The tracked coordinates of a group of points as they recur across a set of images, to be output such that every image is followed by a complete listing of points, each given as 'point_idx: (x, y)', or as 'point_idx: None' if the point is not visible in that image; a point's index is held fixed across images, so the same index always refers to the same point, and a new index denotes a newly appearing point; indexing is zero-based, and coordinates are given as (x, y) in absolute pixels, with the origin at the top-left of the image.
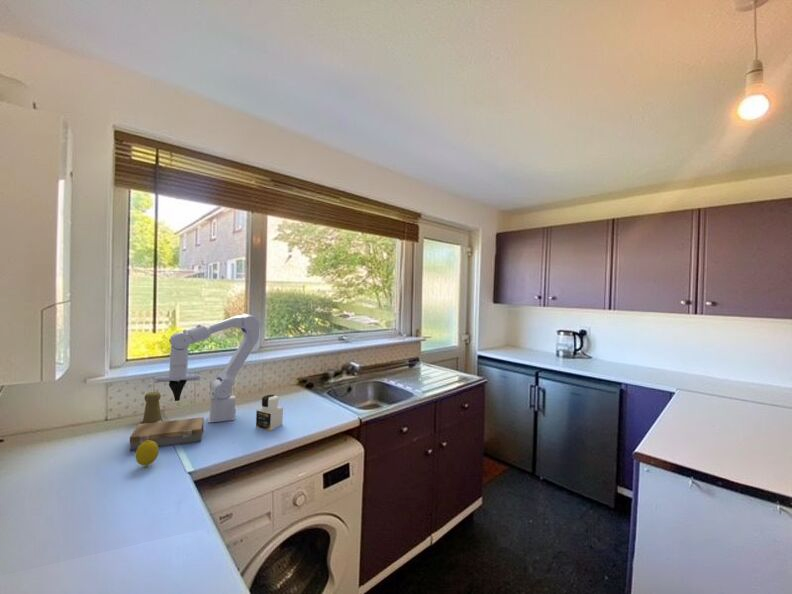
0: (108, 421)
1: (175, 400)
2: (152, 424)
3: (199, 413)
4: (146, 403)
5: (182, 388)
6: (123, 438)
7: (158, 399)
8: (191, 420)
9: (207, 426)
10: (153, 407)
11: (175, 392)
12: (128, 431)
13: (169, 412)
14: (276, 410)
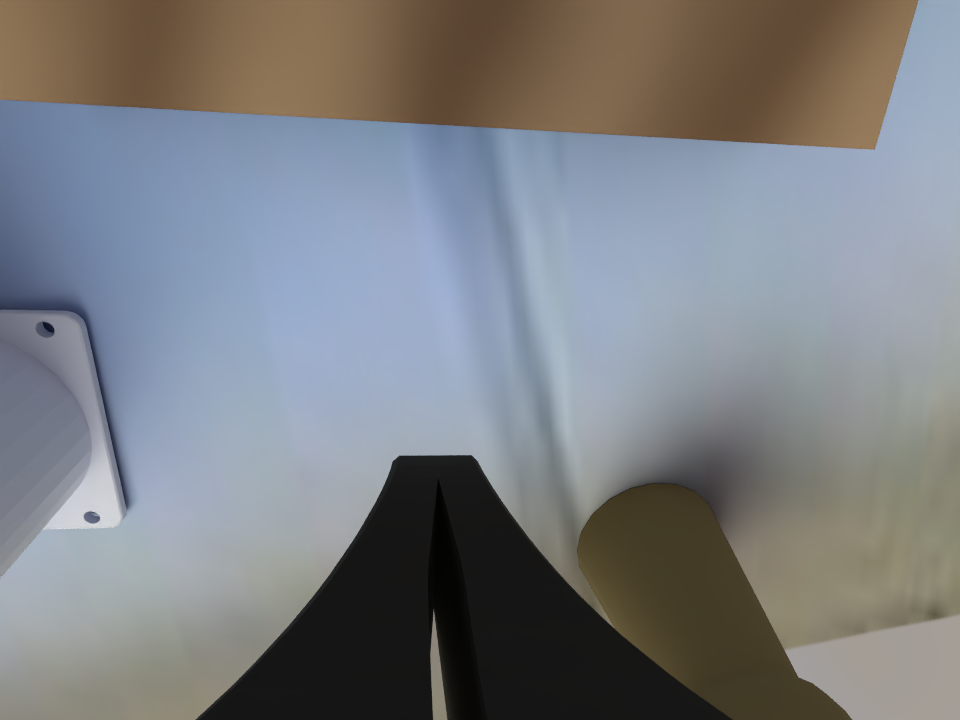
0: (928, 591)
1: (464, 458)
2: (717, 59)
3: (255, 595)
4: (795, 674)
5: (234, 691)
6: (876, 184)
7: None
8: (143, 2)
9: (62, 210)
10: (704, 613)
11: (491, 579)
12: (826, 347)
13: None
14: None
